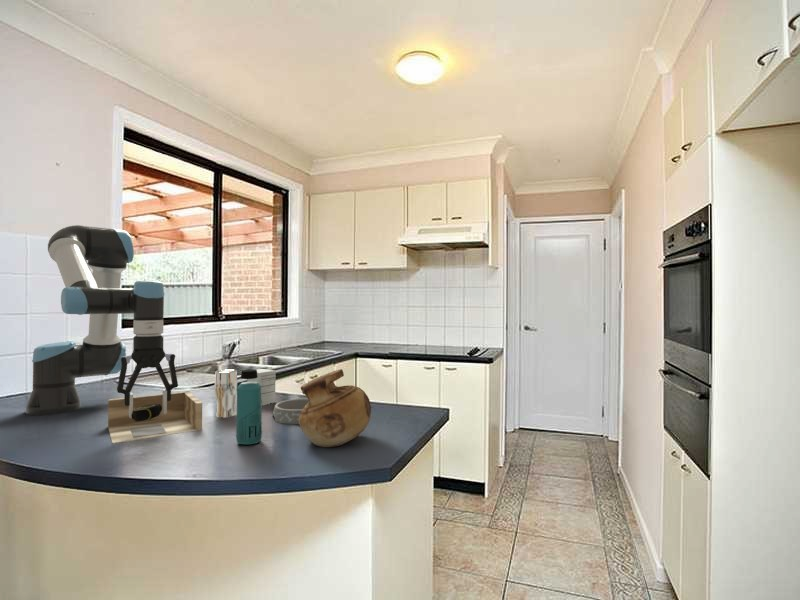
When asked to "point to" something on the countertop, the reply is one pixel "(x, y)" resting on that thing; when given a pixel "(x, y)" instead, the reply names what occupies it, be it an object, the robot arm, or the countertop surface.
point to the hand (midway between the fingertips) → (148, 414)
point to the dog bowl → (289, 410)
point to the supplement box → (266, 385)
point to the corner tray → (166, 423)
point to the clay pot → (333, 411)
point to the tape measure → (146, 412)
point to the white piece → (225, 392)
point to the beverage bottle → (249, 409)
